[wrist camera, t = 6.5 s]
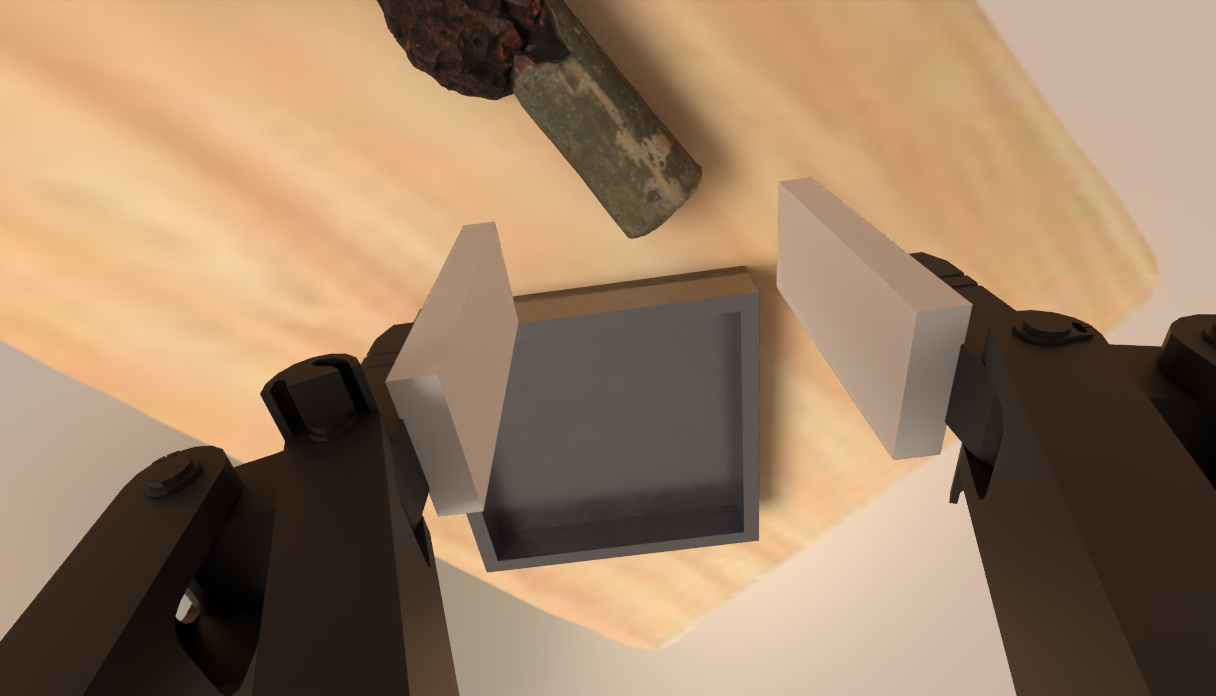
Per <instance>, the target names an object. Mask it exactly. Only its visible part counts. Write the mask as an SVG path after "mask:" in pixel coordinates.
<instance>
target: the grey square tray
mask: <svg viewBox="0 0 1216 696" xmlns="http://www.w3.org/2000/svg"><path fill="white" fill-rule="evenodd" d="M513 301H514V305H515V309H516V313H517V318H518V327H517V333H516V338H515V343H514V349H513V354H512V360H511V365H510V370H509V376H508V381H507V386H506V392H505V397H504V403H503V408H502V413H501V419H500V424H499V429H498V435H497V440H496V446H495V451H494V456H493V462H492V467H491V472H490V478H489V483H488V489H487V494H486V499H485V505H484V510H483V511H480V512H472V513H466V514H467V517H468V520H469V523H470V525H471V528H472V531H473V534H474V537H475V540H476V543H477V545H478V548H479V551H480V554H481V557H482V560H483V562H484V565H485V568H486V571H487V572H495V571H504V570H512V569H521V568H529V567H538V566H546V565H555V564H563V563H572V562H580V561H589V560H597V559H606V558H614V557H623V556H631V555H640V554H648V553H657V552H665V551H674V550H682V549H691V548H699V547H708V546H716V545H725V544H733V543H742V542H750V541H759V326H760V292H759V290H758V288H757V287H756V285H755V283H754V282H753V280H752V278H751V277H750V275H749V274H748V272H747V270H746V269H745V267H744V266H740V267H733V268H725V269H718V270H710V271H703V272H695V273H688V274H680V275H673V276H665V277H658V278H650V279H643V280H635V281H628V282H620V283H613V284H605V285H598V286H590V287H583V288H575V289H568V290H560V291H553V292H545V293H538V294H530V295H523V296H515V297H513ZM420 311H421V309H420ZM420 311H419V313H420ZM419 313H418V314H417V316H416V318H415V320H414V322H415V321H416V319H417V317H418V315H419Z"/></svg>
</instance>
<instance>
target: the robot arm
mask: <svg viewBox="0 0 1216 696" xmlns="http://www.w3.org/2000/svg"><path fill="white" fill-rule="evenodd" d="M777 289H778V290H779V292H780V293H781V295H782V296H783V297H784V299H785V300H786V302H787V303H788V305H789V306H790V308H791V309H792V311H793V312H794V314H795V315H796V317H797V318H798V320H799V321H800V323H801V324H802V326H803V327H804V329H805V330H806V332H807V333H808V335H809V336H810V338H811V339H812V341H813V342H814V344H815V345H816V347H817V348H818V349H819V351H820V352H821V354H822V355H823V357H824V358H825V360H826V361H827V363H828V364H829V366H830V367H831V369H832V370H833V372H834V373H835V375H836V376H837V378H838V379H839V381H840V382H841V384H842V385H843V387H844V388H845V390H846V391H847V393H848V394H849V396H850V397H851V399H852V400H853V401H854V403H855V404H856V406H857V407H858V409H859V410H860V412H861V413H862V415H863V416H864V418H865V419H866V421H867V422H868V424H869V425H870V427H871V428H872V430H873V431H874V433H875V434H876V436H877V437H878V439H879V440H880V442H881V443H882V445H883V446H884V448H885V449H886V451H887V452H888V453H889V455H890V456H891V458H892V459H893V460H899V459H907V458H915V457H923V456H931V455H939V454H941V449H942V444H943V440H944V435H945V430H946V426H947V425H948V426H949V428H950V429H951V430H952V431H953V432H954V433H955V435H956V436H957V437H958V438H959V439H960V440H961V442H962V445H961V449H960V453H959V458H958V462H957V466H956V470H955V475H954V479H953V483H952V487H951V492H950V501H949V502H950V503H955V504H957V502H958V498H959V495H960V492H962V491H963V490H964V493H965V497H966V501H967V505H968V509H969V513H970V517H971V520H972V524H973V528H974V532H975V536H976V540H977V544H978V548H979V551H980V555H981V559H982V563H983V567H984V571H985V574H986V579H987V583H988V586H989V590H990V594H991V598H992V602H993V606H994V609H995V614H996V617H997V621H998V625H999V629H1000V633H1001V636H1002V640H1003V644H1004V648H1005V652H1006V656H1007V660H1008V664H1009V668H1010V672H1011V675H1012V679H1013V683H1014V687H1015V691H1016V695H1017V696H1216V315H1211V314H1207V315H1206V314H1197V315H1192V316H1187V317H1181V318H1179V319H1178V320H1176V321H1175V322H1173V323H1172V324H1171V326H1170V328H1169V330H1168V333H1167V335H1166V337H1165V340H1164V342H1163V345H1162V347H1158V346H1135V345H1111V344H1108V342H1107V341H1106V339H1105V338H1104V337H1103V335H1102V334H1101V333H1099V332H1098V331H1097V330H1096V329H1095V328H1094V327H1092V326H1091V325H1089V324H1087V323H1085V322H1083V321H1080V320H1078V319H1076V318H1073V317H1069V316H1065V315H1061V314H1058V313H1054V312H1045V311H1035V310H1027V311H1016V310H1014V309H1013V308H1011V307H1010V306H1009V305H1007V304H1006V303H1005V302H1003V301H1002V300H1000V299H999V298H998V297H996V296H995V295H994V294H992V293H991V292H989V291H988V290H987V289H985V288H984V287H982V286H978V283H977V282H976V281H974V280H973V279H971V278H970V277H969V276H964V273H963V272H962V271H960V270H959V269H958V268H956V267H955V266H954V265H952V264H951V263H949V262H948V261H946V260H943V259H940V258H937V257H935V256H932V255H929V254H926V253H923V252H919V253H912V254H908V253H907V252H905V251H904V250H903V249H902V248H900V247H899V246H898V245H896V244H895V243H894V242H893V241H891V240H890V239H889V238H888V237H886V236H885V235H884V234H883V233H881V232H880V231H879V230H877V229H876V228H875V227H874V226H872V225H871V224H870V223H869V222H867V221H866V220H865V219H864V218H862V217H861V216H860V215H858V214H857V213H856V212H855V211H853V210H852V209H851V208H850V207H848V206H847V205H846V204H845V203H843V202H842V201H841V200H839V199H838V198H837V197H836V196H834V195H833V194H832V193H831V192H829V191H828V190H827V189H826V188H824V187H823V186H822V185H820V184H819V183H818V182H817V181H815V180H814V179H813V178H812V177H811V178H804V179H796V180H789V181H782V182H779V202H778V247H777ZM517 327H518V318H517V313H516V309H515V305H514V301H513V296H512V292H511V288H510V284H509V279H508V275H507V271H506V267H505V263H504V258H503V254H502V250H501V246H500V241H499V237H498V233H497V229H496V224H495V222H487V223H480V224H473V225H466V226H463V227H462V229H461V231H460V233H459V235H458V237H457V239H456V241H455V243H454V245H453V247H452V249H451V251H450V253H449V255H448V257H447V259H446V261H445V263H444V265H443V267H442V269H441V271H440V273H439V275H438V277H437V279H436V281H435V283H434V285H433V287H432V289H431V291H430V293H429V295H428V297H427V299H426V301H425V303H424V305H423V307H422V309H421V311H420V313H419V315H418V317H417V319H416V321H415V322H413V323H406V324H398V325H393V326H392V327H391V328H389V329H388V330H387V331H386V332H384V333H383V334H382V335H381V336H379V337H378V338H377V339H376V340H375V341H374V343H373V345H372V346H371V348H370V350H369V352H368V353H367V357H366V358H364V360H363V362H362V363H361V365H360V363H359V361H358V359H357V358H356V357H354V356H351V355H348V354H327V355H322V356H317V357H313V358H310V359H307V360H304V361H302V362H299V363H296V364H294V365H292V366H290V367H289V368H287V369H285V370H283V371H281V372H280V373H278V374H277V375H276V376H274V377H273V378H272V379H271V380H270V381H269V382H267V383H266V384H265V386H264V388H263V390H262V391H261V393H260V395H261V397H262V399H263V401H264V402H265V404H266V406H267V408H268V410H269V412H270V414H271V416H272V417H273V419H274V421H275V423H276V425H277V427H278V429H279V431H280V432H281V434H282V436H283V438H284V440H285V445H284V451H281V452H278V453H276V454H273V455H270V456H267V457H264V458H261V459H258V460H255V461H252V462H248V463H245V464H242V465H239V466H236V467H233V465H232V464H231V462H230V460H229V459H228V457H227V455H226V454H225V452H224V451H223V449H221V448H217V447H214V446H200V447H193V448H189V449H186V450H183V451H176V452H174V453H171V454H169V455H167V457H165V456H164V457H162V458H160V459H158V460H156V461H155V462H153V463H152V464H151V465H150V466H149V467H147V468H146V469H144V470H143V471H141V472H140V473H138V474H137V475H136V476H135V477H134V478H133V479H132V480H131V481H130V482H129V483H128V484H126V485H125V486H124V488H123V489H122V490H121V491H120V492H119V494H118V495H117V496H116V497H115V499H114V500H113V501H112V503H111V504H110V505H109V506H108V507H107V509H106V510H105V511H104V512H103V514H102V515H101V516H100V518H99V519H98V520H97V521H96V523H95V524H94V525H93V526H92V527H91V529H90V530H89V531H88V533H87V534H86V535H85V536H84V537H83V539H82V540H81V541H80V542H79V544H78V545H77V546H76V548H75V549H74V550H73V551H72V553H71V554H70V555H69V556H68V557H67V559H66V560H65V561H64V562H63V564H62V565H61V566H60V567H59V569H58V570H57V571H56V572H55V574H54V575H53V576H52V578H51V579H50V580H49V581H48V582H47V584H46V585H45V586H44V588H43V589H42V590H41V591H40V593H39V594H38V595H37V596H36V598H35V599H34V600H33V601H32V603H31V604H30V605H29V606H28V608H27V609H26V610H25V611H24V613H23V614H22V615H21V616H20V618H19V619H18V620H17V621H16V623H15V624H14V625H13V626H12V628H11V629H10V630H9V631H8V633H7V634H6V635H5V636H4V638H3V639H2V640H1V641H0V696H459V691H458V686H457V680H456V675H455V669H454V664H453V658H452V652H451V647H450V641H449V636H448V630H447V625H446V619H445V614H444V608H443V603H442V597H441V592H440V586H439V580H438V575H437V569H436V564H435V558H434V553H433V547H432V542H431V536H430V532H429V530H428V527H427V525H426V522H425V520H424V518H423V515H422V513H423V510H424V506H425V503H426V500H427V497H428V493H429V495H430V497H431V500H432V502H433V505H434V507H435V510H436V512H437V515H438V517H440V516H448V515H456V514H464V513H472V512H480V511H483V510H484V505H485V499H486V494H487V489H488V483H489V478H490V472H491V467H492V462H493V456H494V451H495V446H496V440H497V435H498V429H499V424H500V419H501V413H502V408H503V403H504V397H505V392H506V386H507V381H508V376H509V370H510V365H511V360H512V354H513V349H514V343H515V338H516V333H517ZM184 594H185V595H186V596H187V597H188V598H189V600H190V601H191V602H192V605H191V607H190V608H189V610H188V612H187V614H186V616H185V617H184V618H183V620H182V621H179V620H178V619H177V618H176V617H175V616H176V613H177V609H178V607H179V603H180V601H181V599H182V597H183V595H184Z"/></svg>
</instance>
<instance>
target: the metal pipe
mask: <svg viewBox="0 0 1216 696" xmlns="http://www.w3.org/2000/svg"><path fill="white" fill-rule="evenodd" d="M377 1H378V3H379V5H380V7H381V9H382V10H383V12H384V17H385V20H386V23H387V27H388V29H389V30H390V32H391V33H392V34H393V36H394V38H396V41H397V42H398V43H399V45H400V46H401V47H402V48H403V49H404V50H405V51H406V54H407V57H408V59H409V60H410V62H411V63H412V65H413V66H414V67H415V68H417V69H419V70H421V71H423V72H426V73H427V74H428V75H430V76H432V77H433V78H435V80H436V81H437V82H438V83H439V84H440V85H441V86H443V87H445V88H447V89H448V90H454V91H456V92H458V93H460V94H461V95H465V96H475V97H481V98H486V99H490V100H498V99H501V98H503V97H505V96H508V95H511V94H515V95H516V97H517V98H518V100H519V102H520V103H521V105H522V107H523V108H524V109H525V111H526V112H527V113H528V114H529V116H530V117H531V118H532V119H533V120H534V122H535V123H536V124H537V125H538V127H539V128H540V129H541V130H542V131H543V132H544V133H545V135H546V136H547V137H548V138H549V139H550V140H551V142H552V143H553V144H554V145H555V146H556V148H557V149H558V150H559V151H560V153H561V154H562V155H563V156H564V157H565V159H566V160H567V161H568V162H569V163H570V165H571V166H572V167H573V168H574V169H575V170H576V172H577V173H578V174H579V175H580V176H581V178H582V179H583V180H584V182H585V183H586V184H587V186H588V187H589V188H590V190H591V191H592V192H593V194H594V195H595V196H596V197H597V199H598V200H599V201H600V203H601V204H602V205H603V207H604V208H605V209H606V210H607V212H608V213H609V214H610V216H611V217H612V218H613V219H614V221H615V222H616V223H617V224H618V226H619V227H620V228H621V229H622V231H623V232H624V233H625V234H626V236H627V237H628V238H631V239H632V238H638V237H641V236H645V235H647V234H648V233H650V232H652V231H654V230H656V229H657V228H658V227H659V226H661V225H662V224H663V223H664V222H665V221H666V220H668V219H669V217H670V216H671V215H672V214H673V213H674V212H675V211H676V210H677V209H678V208H680V207H681V206H682V205H683V204H684V203H685V201H686V200H687V199H688V198H689V197H690V196H691V195H692V194H693V193H694V191H695V190H696V189H697V187H698V185H699V184H700V181H701V177H702V173H701V172H702V167H701V166H699V165H698V164H697V163H696V162H695V161H694V160H693V159H692V157H691V156H690V155H689V154H688V153H687V152H686V150H685V149H684V148H683V147H682V146H681V145H680V143H679V142H678V141H677V140H676V139H675V137H674V136H673V135H672V134H671V132H670V131H669V130H668V129H667V127H666V126H665V125H664V124H663V123H662V122H661V120H660V119H659V118H658V117H657V116H656V115H655V114H654V113H653V112H652V110H651V109H650V108H649V106H648V105H647V104H646V102H645V101H644V100H643V98H642V97H641V96H640V95H639V93H638V92H637V91H636V90H635V88H634V87H633V86H632V85H631V84H630V82H629V81H628V80H627V79H626V78H625V76H624V75H623V74H622V73H621V72H620V71H619V69H618V68H617V67H616V66H615V64H614V63H613V62H612V61H611V59H610V58H609V57H608V56H607V55H606V53H605V52H604V51H603V50H602V48H601V47H600V46H599V45H598V44H597V42H596V41H595V40H594V39H593V37H592V36H591V35H590V34H589V32H588V31H587V30H586V29H585V27H584V26H583V25H582V24H581V22H580V21H579V20H578V19H577V18H576V16H575V15H574V14H573V13H572V12H571V10H570V9H569V8H568V7H567V6H566V4H565V3H564V1H563V0H377Z"/></svg>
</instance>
